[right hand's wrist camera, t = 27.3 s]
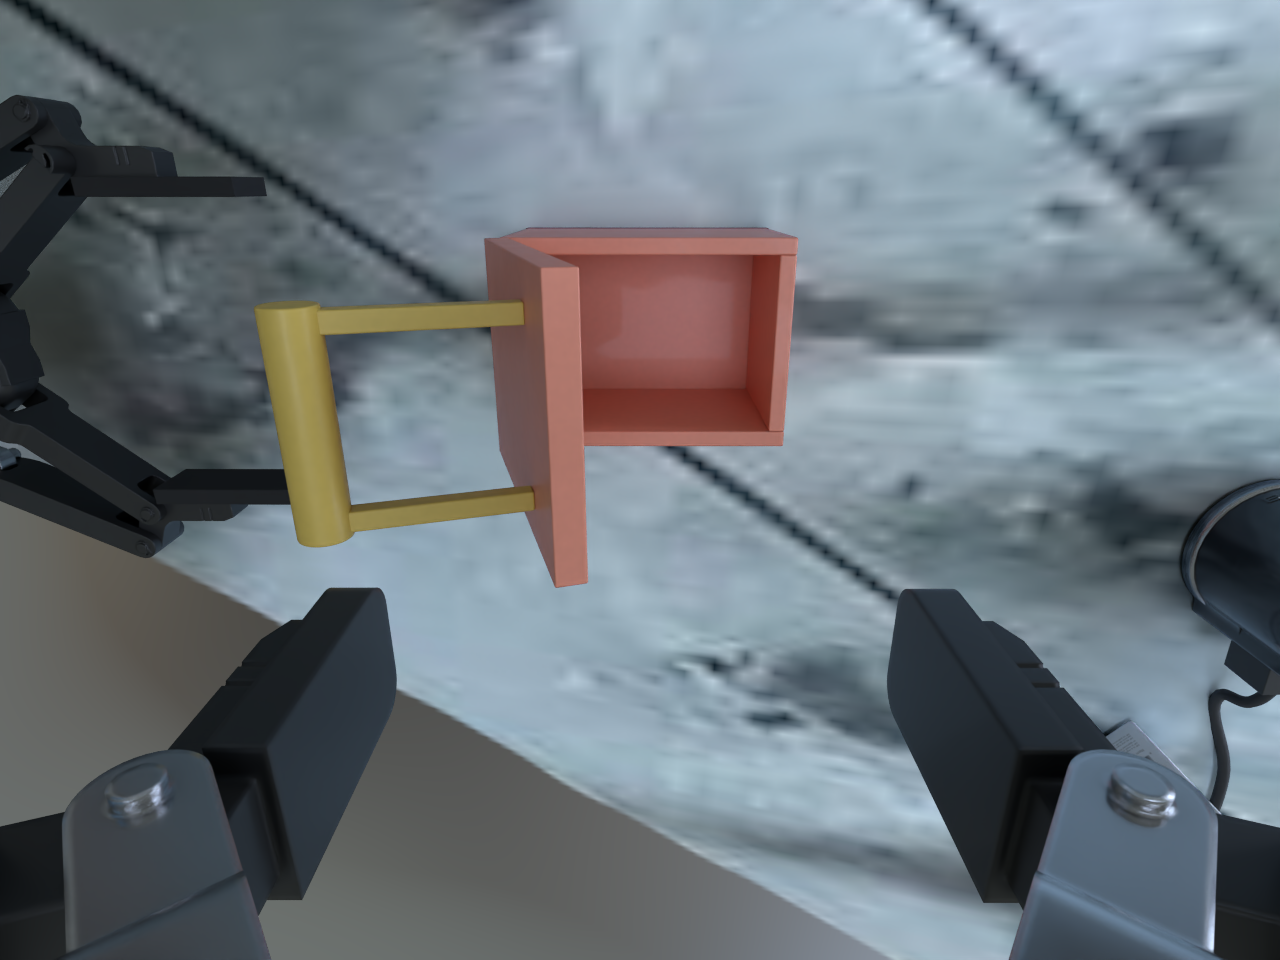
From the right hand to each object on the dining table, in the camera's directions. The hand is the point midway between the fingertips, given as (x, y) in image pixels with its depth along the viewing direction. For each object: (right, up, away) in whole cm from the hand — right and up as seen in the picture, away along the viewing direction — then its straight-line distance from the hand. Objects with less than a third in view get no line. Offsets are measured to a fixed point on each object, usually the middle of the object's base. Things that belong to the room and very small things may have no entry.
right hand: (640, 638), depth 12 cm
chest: (0, +12, +30) cm, 32 cm away
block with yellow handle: (-4, +6, +15) cm, 17 cm away
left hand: (-16, +9, +22) cm, 29 cm away
